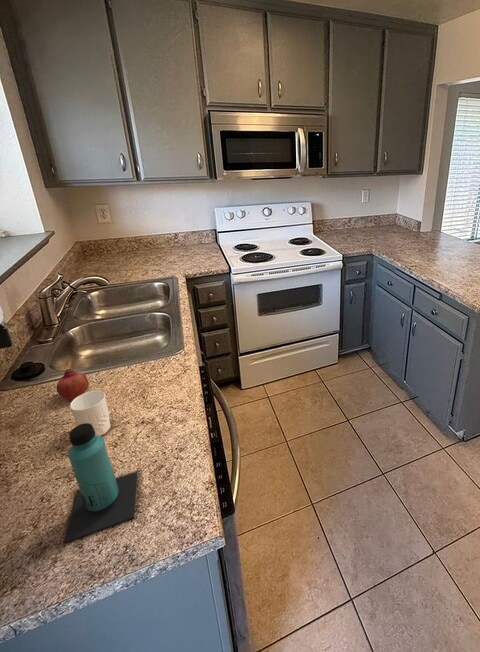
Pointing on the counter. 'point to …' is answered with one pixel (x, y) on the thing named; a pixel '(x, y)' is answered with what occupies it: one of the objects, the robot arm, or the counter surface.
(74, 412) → the white cup
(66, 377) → the fruit
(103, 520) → the corner mat
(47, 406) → the counter surface
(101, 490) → the beverage bottle
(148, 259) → the counter surface
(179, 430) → the counter surface
